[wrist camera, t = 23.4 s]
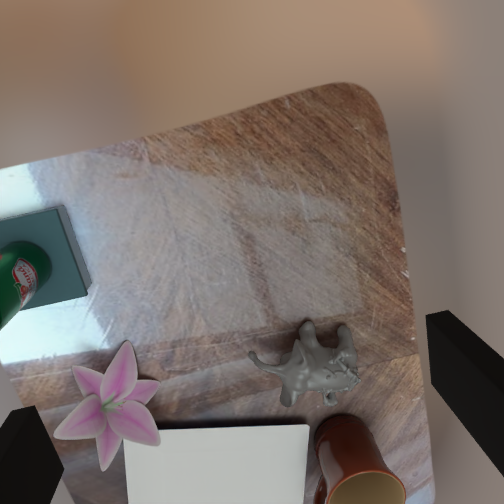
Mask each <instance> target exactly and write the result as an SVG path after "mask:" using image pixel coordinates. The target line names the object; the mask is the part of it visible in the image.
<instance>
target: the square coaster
mask: <svg viewBox="0 0 504 504" xmlns="http://www.w3.org/2000/svg"><path fill="white" fill-rule="evenodd" d="M14 242H26V243H29V244H32V245H34V246H36V247H38V248H39V249H40V250H42V251H43V252H44V254H45V255H46V256H47V258H48V260H49V263H50V267H51V272H50V276H49V279H48V281H47V282H46V283H45V284H44V285H43V286H42V287H41V289H40V290H39V291H38V292H37V293H36V294H35V295H34V296H33V297H32V298H31V299H30V300H29V301H28V302H27V303H26V304H25V305H24V306H23V307H22V308H21V309H20V310H19V311H21V310H26V309H30V308H35V307H39V306H44V305H48V304H53V303H57V302H62V301H66V300H71V299H75V298H80V297H84V296H87V295H88V292H87V290H88V288H89V287H90V285H91V284H92V282H91V280H90V277H89V274H88V271H87V268H86V266H85V263H84V260H83V257H82V254H81V252H80V249H79V246H78V243H77V240H76V237H75V235H74V232H73V229H72V226H71V223H70V221H69V218H68V215H67V212H66V209H65V207H64V206H59V207H54V208H50V209H45V210H40V211H36V212H31V213H27V214H22V215H17V216H13V217H8V218H4V219H0V249H1V248H3V247H4V246H6V245H8V244H10V243H14Z"/></svg>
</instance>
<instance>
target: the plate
mask: <svg viewBox="0 0 504 504" xmlns="http://www.w3.org/2000/svg"><path fill="white" fill-rule="evenodd" d="M309 428H310V426H308V425H307V424H294V425H268V426H242V427H216V428H190V429H164V430H158V432H159V434H160V439H161V443H160V445H159V446H148V445H144V444H139V443H135V442H131V441H128V440H126V439H123V442H124V455H125V467H126V479H127V491H128V503H129V504H303V499H304V487H305V475H306V463H307V452H308V440H309Z"/></svg>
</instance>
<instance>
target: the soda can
mask: <svg viewBox="0 0 504 504" xmlns="http://www.w3.org/2000/svg"><path fill="white" fill-rule="evenodd" d="M50 272H51V267H50V263H49V260H48V258H47V256H46V255H45V254H44V252H43V251H42V250H40V249H39V248H38V247H36V246H34V245H32V244H29V243H26V242H14V243H10V244H8V245H6V246H4V247H3V248H1V249H0V330H1V329H2V328H3V327H4V326H5V325H6V324H7V323H8V322H9V321H10V320H11V319H12V318H13V317H14V316H15V315H16V314H17V313H18V312H19V310H20V309H21V308H22V307H23V306H24V305H25V304H26V303H27V302H28V301H29V300H30V299H31V298H32V297H33V296H34V295H35V294H36V293H37V292H38V291H39V290H40V289H41V287H42V286H43V285H44V284H45V283H46V282H47V281H48V279H49V276H50Z"/></svg>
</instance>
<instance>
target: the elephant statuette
mask: <svg viewBox="0 0 504 504" xmlns="http://www.w3.org/2000/svg"><path fill="white" fill-rule="evenodd" d="M315 332H316V330H315V326H314V324H313V323H312V322H310V321H307V322H305V323H304V324H303V325H302V326H301V328H300V329H299V335H300V336H301V337H300V341H299V340H297V339H296V340H295V343H294V346H293V350H292V352H288V353H285V354H284V355H283V356H282V357H281V359H280V364H279V365H268V364H265V363H263V362H261V361H260V360H259V359H258V358H257V356H256V353H255V352H254V351H250V352H249V353H248V356H249V358H250V359H251V360H252V361H253V362H254V364H255V365H256V366H257V367H258V368H260V369H261V370H264V371H267V372H270V373H275V374H277V375H278V376H279V377H280V379H281V380H282V382H283V387H282V391H281V395H280V402H281V404H282V405H283V406H285V407H291V406H293V405H294V404H295V403H296V401H297V399H298V396H299V395H301V394H303V393H304V392H306V391H307V390H309V391H317V392H318V393H320V392H322V395H323V404H324V405H325V406H330V407H333V406H334V405H336V404H337V403H338V401H337V398H336V395H335V393H336V392H340V393H343V391H352V389H353V388H354V386H355V385H356V384H357V382H358V383H360V382H361V379H360V378H358V375H359V373H358V372H357V371H358V369H357V367H356V362H357V353H356V350H355V347H354V344H353V339H352V335H351V331H350V329H349V328H348V327H347V326H345V325H341V326H339V328H338V330H337V335H338V338H339V344H338V346H337V348H332V349H331V348H329V347H326V348H324V347H323V346H321V345H320V344H319V342H318V340H317V338H316V335H315ZM327 393H329V394H328V396H327V397H326V394H327Z"/></svg>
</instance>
